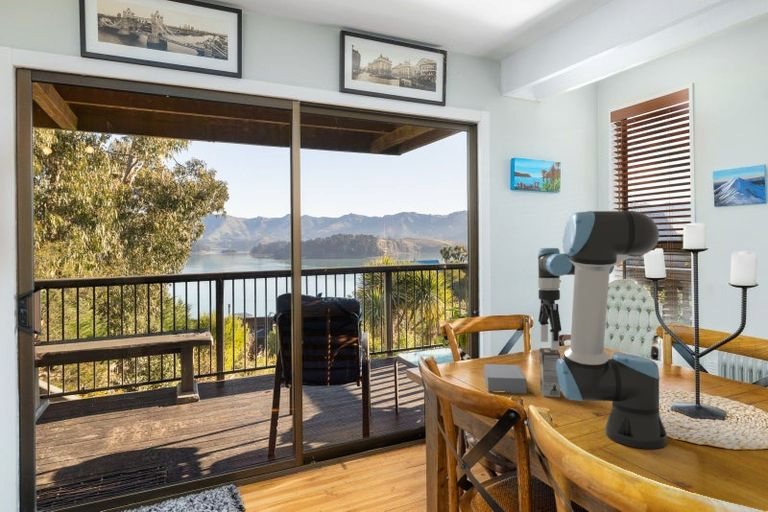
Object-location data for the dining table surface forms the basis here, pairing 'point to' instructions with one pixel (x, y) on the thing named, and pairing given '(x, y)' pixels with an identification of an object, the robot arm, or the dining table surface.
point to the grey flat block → (504, 378)
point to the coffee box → (549, 372)
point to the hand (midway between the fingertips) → (549, 345)
